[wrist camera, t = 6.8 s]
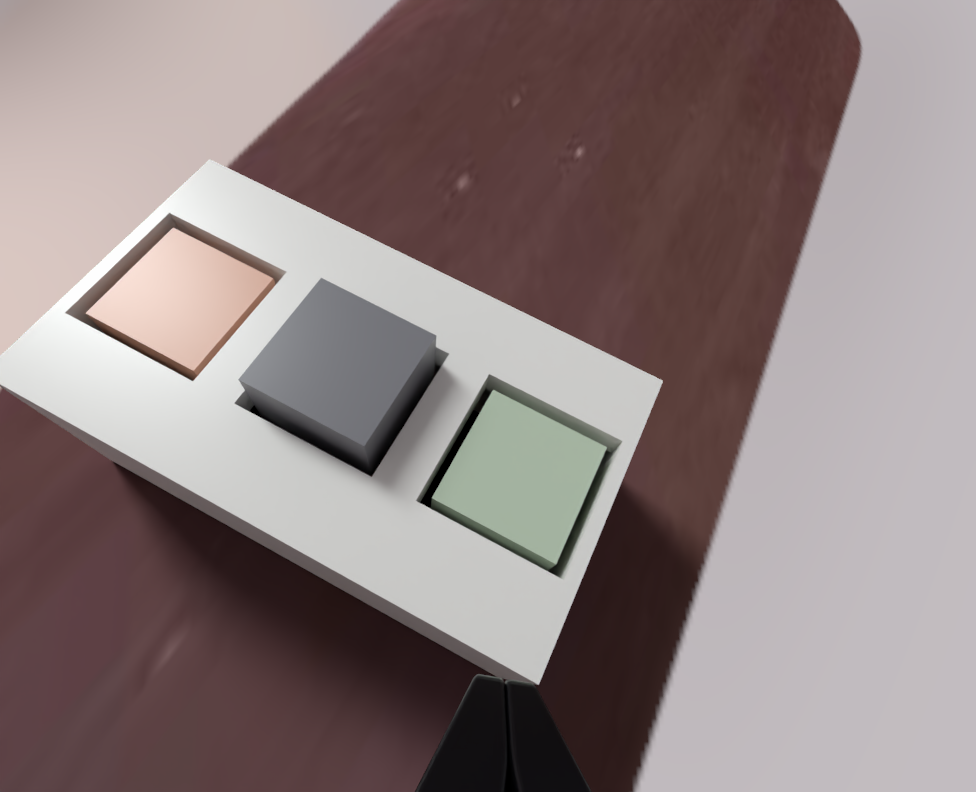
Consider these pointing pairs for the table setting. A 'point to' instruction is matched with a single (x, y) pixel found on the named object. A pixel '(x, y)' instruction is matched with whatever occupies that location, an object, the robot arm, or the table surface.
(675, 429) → the table surface
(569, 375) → the button console
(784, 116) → the table surface
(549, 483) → the sage-green button
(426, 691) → the table surface
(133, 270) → the terracotta button
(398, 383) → the charcoal button
